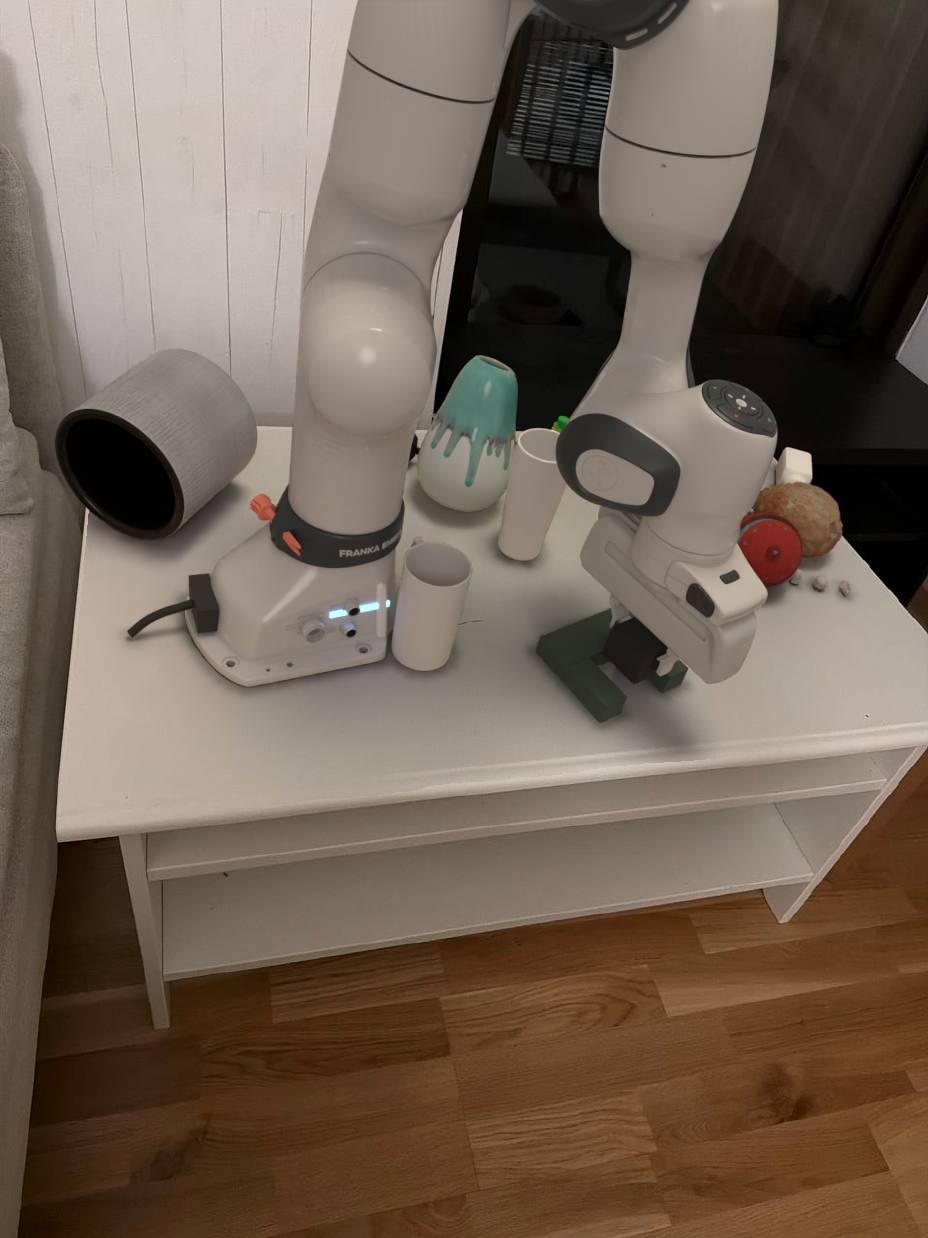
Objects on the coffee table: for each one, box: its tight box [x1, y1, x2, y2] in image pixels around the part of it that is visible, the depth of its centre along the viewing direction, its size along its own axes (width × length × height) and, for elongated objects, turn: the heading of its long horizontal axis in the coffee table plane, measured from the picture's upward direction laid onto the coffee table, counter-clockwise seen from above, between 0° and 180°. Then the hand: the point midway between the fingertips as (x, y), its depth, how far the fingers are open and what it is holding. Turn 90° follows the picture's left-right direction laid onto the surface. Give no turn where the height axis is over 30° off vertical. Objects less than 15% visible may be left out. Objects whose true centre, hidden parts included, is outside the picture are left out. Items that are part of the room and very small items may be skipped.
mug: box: [390, 536, 473, 672], centre depth 99 cm, size 10×7×12 cm, turn 21°
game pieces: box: [789, 568, 852, 596], centre depth 122 cm, size 8×2×2 cm, turn 84°
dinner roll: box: [751, 482, 844, 559], centre depth 126 cm, size 10×13×10 cm
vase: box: [416, 355, 519, 513], centre depth 117 cm, size 12×12×18 cm
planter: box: [54, 347, 258, 541], centre depth 107 cm, size 16×16×16 cm
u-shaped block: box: [534, 607, 690, 723], centre depth 105 cm, size 12×11×2 cm
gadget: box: [737, 512, 803, 590], centre depth 120 cm, size 9×9×15 cm
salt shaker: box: [775, 446, 813, 485], centre depth 136 cm, size 4×4×10 cm
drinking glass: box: [497, 427, 568, 562], centre depth 112 cm, size 7×7×15 cm
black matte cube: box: [602, 617, 668, 685], centre depth 101 cm, size 5×5×4 cm
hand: (639, 650), depth 101 cm, fingers closed on black matte cube, 5 cm apart
